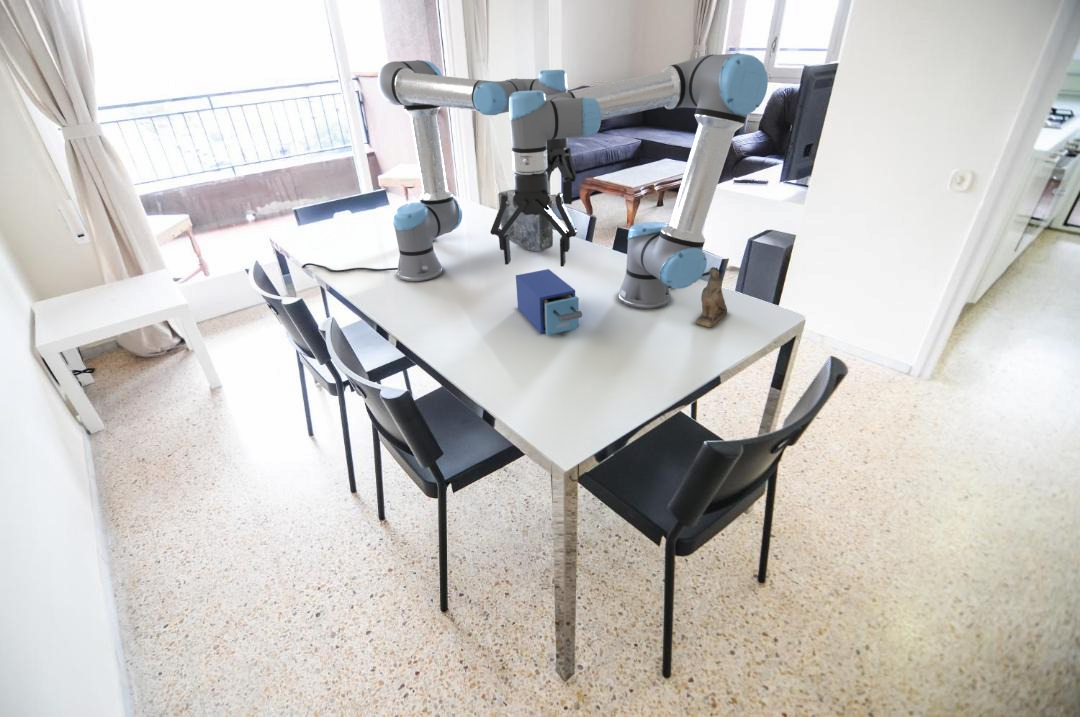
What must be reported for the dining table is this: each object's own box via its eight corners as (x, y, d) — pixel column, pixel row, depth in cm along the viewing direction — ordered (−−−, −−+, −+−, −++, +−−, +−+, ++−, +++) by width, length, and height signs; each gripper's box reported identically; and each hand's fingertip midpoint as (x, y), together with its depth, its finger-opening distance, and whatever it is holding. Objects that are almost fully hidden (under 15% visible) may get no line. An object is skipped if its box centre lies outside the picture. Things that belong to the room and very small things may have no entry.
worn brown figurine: (709, 335, 136) (713, 280, 124) (691, 329, 139) (693, 274, 128) (730, 313, 142) (736, 258, 130) (712, 307, 145) (716, 253, 133)
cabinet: (575, 325, 139) (575, 290, 133) (540, 333, 135) (539, 297, 130) (549, 301, 153) (548, 268, 147) (517, 308, 149) (515, 275, 144)
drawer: (587, 336, 131) (588, 305, 127) (555, 344, 128) (555, 313, 124) (553, 304, 149) (552, 277, 144) (524, 311, 146) (523, 282, 141)
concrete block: (558, 253, 189) (557, 199, 178) (539, 258, 184) (537, 204, 174) (519, 237, 207) (516, 187, 197) (501, 241, 203) (497, 191, 193)
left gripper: (539, 139, 130) (542, 220, 141) (587, 127, 147) (587, 200, 158) (516, 138, 133) (521, 217, 144) (566, 126, 151) (567, 198, 162)
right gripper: (470, 174, 108) (481, 267, 119) (585, 174, 103) (584, 271, 114) (481, 167, 114) (490, 256, 125) (589, 167, 109) (588, 259, 120)
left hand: (555, 208), depth 151 cm, fingers open, 13 cm apart
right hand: (535, 263), depth 119 cm, fingers open, 13 cm apart
